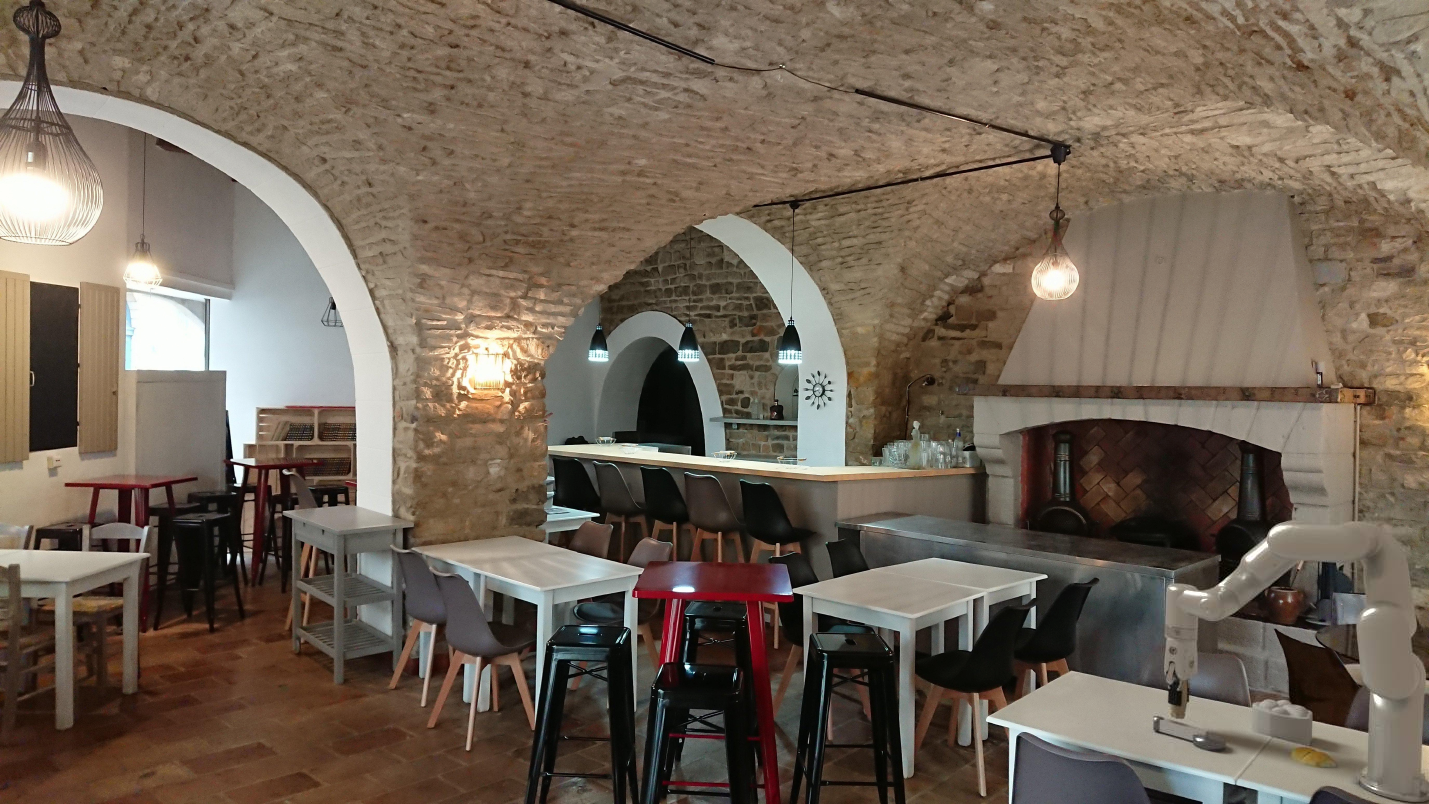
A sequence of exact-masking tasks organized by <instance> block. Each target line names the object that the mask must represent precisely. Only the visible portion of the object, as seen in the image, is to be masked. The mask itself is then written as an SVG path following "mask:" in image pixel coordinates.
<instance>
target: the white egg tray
mask: <svg viewBox="0 0 1429 804" xmlns="http://www.w3.org/2000/svg"><path fill="white" fill-rule="evenodd" d="M1252 731H1253V732H1252ZM1251 732H1252V733H1256V734H1259V735H1263V736H1267V737H1271V738H1274V739H1278V740H1282V741H1285V742H1290V743H1293V744H1297V745H1301V746H1303V747H1309V748H1310V746H1311V742H1313V712H1312V711H1311V710H1309V709H1307V708H1306V707H1304V706H1302V705H1299V704H1298V705H1297V704H1292V702H1290V701H1289V700H1286V699H1282V700H1277V701H1276V700H1273V699H1268V698H1267V699H1264V700H1263V701H1256V702H1253V703H1252V705H1251Z"/></svg>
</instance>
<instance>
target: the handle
mask: <svg viewBox="0 0 1429 804" xmlns="http://www.w3.org/2000/svg"><path fill="white" fill-rule="evenodd" d="M1189 667H1190V668H1193V667H1194V661H1193V662H1191V663H1189ZM1174 677H1177V678H1178V676H1177V675H1174ZM1174 681H1176V682H1177V684H1178V680H1174ZM1187 687H1188V686H1187V679H1186V680H1182V683H1181V691H1182V706H1176V705H1172V704H1169V706H1170V710H1171V711H1170V716H1171V718H1175V719H1176V720H1178V719H1180V720H1184V719H1185V718H1186V710H1187V706H1188V705H1187V704H1188V703H1187Z"/></svg>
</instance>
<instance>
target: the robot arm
mask: <svg viewBox="0 0 1429 804" xmlns="http://www.w3.org/2000/svg"><path fill="white" fill-rule="evenodd" d="M1301 561H1303V562H1304V561H1305V562H1319V563H1321V562H1324V563H1338V564H1353V563H1356V562H1359V561H1360V563H1361V565H1362V568H1363V569H1362V570H1363V573H1362V574H1363V585H1364V587H1363V588H1364V592H1365V607H1364V608H1363V609H1361V611H1360V613H1358V616H1357V620H1356V639H1357V647H1358V659H1359V667H1360V674H1361V678H1362V681H1363V683H1364V685H1365V687H1366V688H1367V689H1368V690H1369V691H1370V694H1369V707H1368V708H1369V709H1368V710H1369V714H1368V731H1367V732H1368V736H1367V737H1368V738H1367V739H1368V740H1367V773H1362V774H1361V775H1359V777H1358V783H1359V785H1360V786H1361V787H1362V788H1363V789H1365V790H1367V791H1369V792H1371V793H1373V794H1375V795H1379V796H1381V797H1383V798H1388V799H1390V800H1391V799H1392V800H1397V801H1401V802H1402V801H1403V802H1410V803H1424V802H1427V801H1429V781H1428V779H1426V774H1425V773H1423V772H1422V760H1423V759H1422V756H1423V753H1422V752H1423V726H1424V724H1423V723H1424V705H1425V704H1424V703H1425V692H1426V683H1427V682H1426V681H1427V673H1426V668H1425V666H1424V662H1422V660H1421V659H1420V658H1419V656H1418V655H1416V654H1415V653H1414V652H1413V647H1412V646H1413V645H1412V637H1413V636H1414V634H1415V633H1416V631H1417V627H1418V622H1417V617H1416V611H1415V605H1414V595H1413V590H1412V584H1411V578H1410V577H1411V576H1410V571H1409V570H1410V569H1409V563H1408V560H1407V556H1406V554H1405V551H1404V549H1403V548H1402V546H1401V545H1400V543H1399V542H1398V540H1397V539H1396V538H1395V537H1394V536H1393V535H1392V534H1390V532H1388V531H1386V530H1385V529H1383V528H1381V527H1380V526H1379V527H1378V526H1377V525H1374V524H1372V523H1369V522H1365V521H1359V520H1358V521H1353V520H1352V521H1347V522H1344V523H1341V524H1309V523H1307V522H1304V521H1302V520H1295V519H1292V520H1287V521H1284V522H1280V523H1277V524H1276V525H1274V526H1273V527H1271V529H1269V531H1268V533H1267V536H1266V537H1265V538H1264V539H1263V540H1261V541H1260V542H1258V544H1256V545H1254V547H1253V548H1251V549H1250V550H1248V552H1247V553H1245V554H1244V555H1243V556H1242V557H1241V560H1240V563H1239V565H1238V566H1237V568H1235V570H1233V572H1232V573H1230V575H1228V576H1227V577H1226V578H1225V579H1223V580H1222V581H1221V582H1219V583H1218V584H1217V585H1216V586H1214V587H1212V588H1209V589H1205V590H1199V589H1198V588H1197V587H1196V586H1194V585H1191V584H1186V583H1169V585H1168V586H1167V587H1166V593H1165V595H1166V596H1165V615H1164V616H1165V621H1164V637H1165V638H1166V645H1165V650H1164V651H1165V654H1164V664H1163V665H1164V667H1163V668H1164V671H1163V672H1164V675H1165V676H1166V678H1165V681H1166V683H1167V684H1168V685H1167V688H1168V694H1167V703H1168V704H1169V705H1170V704H1172V705H1176V706H1182V691H1181V683H1182V680H1186V679H1187V704H1188V703H1189V702H1190V686H1191V678H1193V677H1195V676H1196V675H1197V674H1198V634H1199V633H1198V631H1199V629H1198V628H1199V619H1201V620H1204V621H1209V622H1217V621H1221V620H1223V619H1224V618H1226V617H1229V616H1231V615H1233V614H1235V613H1236V612H1237V611H1239V610H1241V608H1243V607H1245V606H1246V604H1248V603H1249V602H1250V601H1251V600H1253V599H1254V598H1256V597H1257V596H1258V595H1259V594H1260V593H1261V592H1263V590H1265V589H1267V588H1269V587H1270V586H1271V585H1273V583H1274V582H1275V581H1277V580H1278V579H1279V578H1280V577H1282V576H1284V574H1286V573H1287V572H1288V571H1289V570H1290V569H1292V568H1293V567H1294V566H1295V565H1297V564H1298V563H1300V562H1301ZM1193 661H1194V667H1193V668H1190V667H1189V663H1191V662H1193ZM1174 675H1177V676H1178V678H1177V677H1174ZM1174 680H1178V684H1177V682H1176V681H1174Z"/></svg>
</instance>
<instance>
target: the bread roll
mask: <svg viewBox="0 0 1429 804" xmlns="http://www.w3.org/2000/svg"><path fill="white" fill-rule="evenodd" d="M1290 757H1291V759H1292V760H1293V761H1294V760H1295V761H1297V762H1299V763H1301V764H1303V765H1306V766H1310V767H1315V768H1335V767H1337V763H1336V761H1335V760H1334V758H1333V757H1331V756H1330V755H1329V754H1327V753H1326V752H1323V751H1318V750H1316V749H1314V748H1313V747H1310V746H1309V747H1308V746H1300V747H1296V748H1294V749H1293V750H1292V751H1291V753H1290Z"/></svg>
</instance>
